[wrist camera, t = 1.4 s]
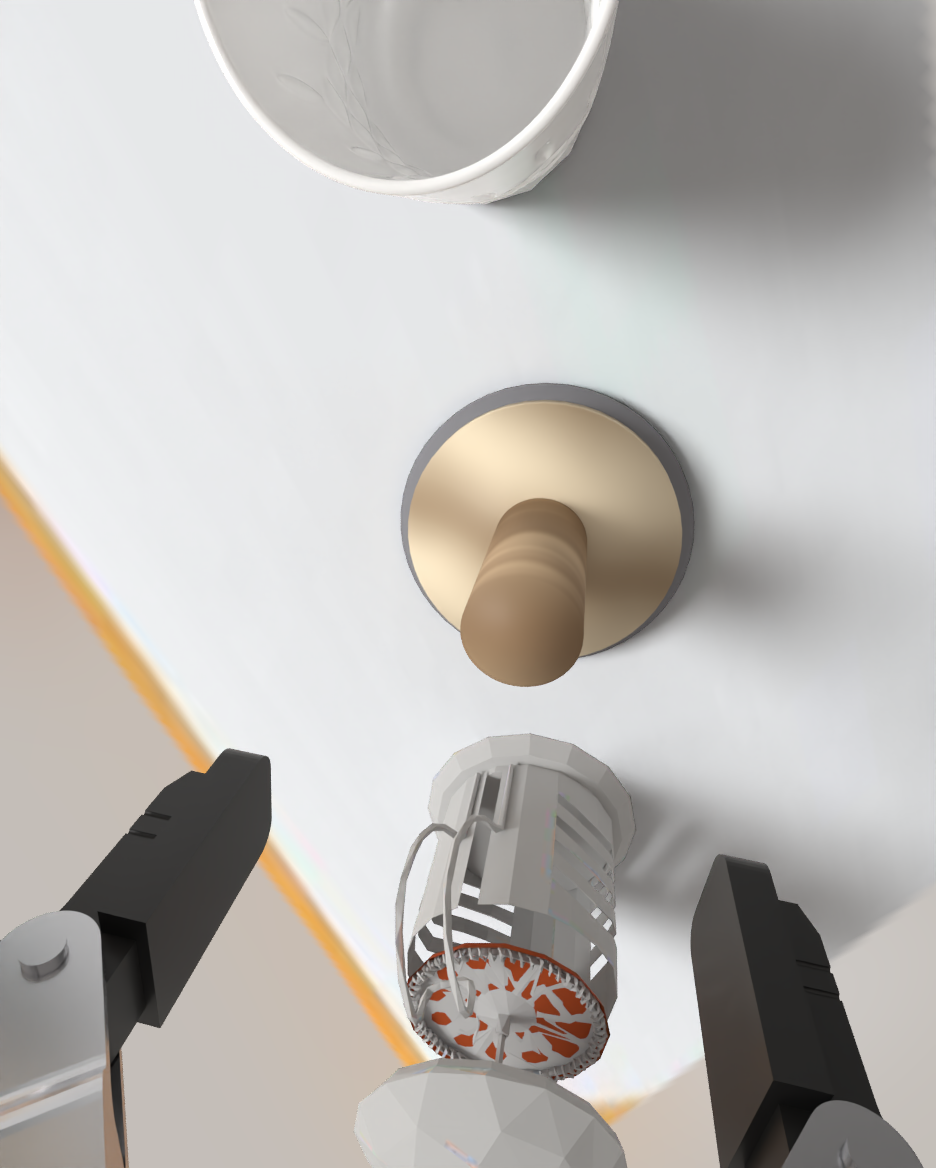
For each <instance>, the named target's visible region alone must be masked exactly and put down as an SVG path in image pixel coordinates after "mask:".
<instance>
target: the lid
mask: <svg viewBox="0 0 936 1168" xmlns="http://www.w3.org/2000/svg"><path fill="white" fill-rule="evenodd" d="M408 540H409V547H410V554H411V558H412V562H413V565H414V569H415V571H416V574H417V576H418V579H419V581H420V583H421V585H422V587H423V589H424V590H425V592H426V594H427V596H428V597H429V599H430V600H431V601H432V603H433V604H434V605H435V607H436V608H437V610H438V611H439V612H440V613H441V614H442V615H443V616H444V617H445V618H446V619H447V620H448V621H449V622H450V623H451V624H452V625H454V626H455V627H456V628H457V629H458V630H460V633H461V639H462V644H463V646H464V649H465V651H466V653H467V655H468V657H469V658H470V659H471V661H472V662H473V663H474V664H475V665H476V666H477V668H478V669H480V670H481V671H482V672H483V673H485V674H486V675H488V676H489V677H491V678H493V679H495V680H497V681H499V682H502V683H505V684H508V685H513V686H520V687H530V686H538V685H543V684H546V683H549V682H552V681H554V680H556V679H558V678H559V677H561V676H562V675H564V674H565V673H566V672H567V671H568V670H569V669H570V668H571V667H572V666H573V665H574V663H575V662H576V660H577V659H578V657H579V656H584V655H588V654H591V653H594V652H597V651H600V650H602V649H604V648H607V647H609V646H611V645H613V644H615V643H617V642H619V641H620V640H622V639H623V638H625V637H626V636H628V635H629V634H631V633H632V632H633V631H635V630H636V629H637V628H638V627H639V626H641V625H642V624H643V623H644V622H645V621H646V620H647V619H648V618H649V617H650V616H651V614H652V613H653V612H654V611H655V610H656V609H657V607H658V606H659V604H660V603H661V601H662V600H663V599H664V597H665V595H666V593H667V592H668V590H669V588H670V586H671V584H672V582H673V579H674V576H675V573H676V570H677V567H678V564H679V559H680V554H681V547H682V524H681V514H680V510H679V506H678V502H677V498H676V495H675V492H674V489H673V487H672V484H671V482H670V479H669V477H668V474H667V472H666V471H665V469H664V467H663V466H662V464H661V462H660V461H659V459H658V457H657V456H656V455H655V454H654V452H653V451H652V450H651V449H650V447H649V446H648V445H647V444H646V443H645V442H644V441H643V440H642V439H641V438H640V437H639V436H638V435H637V434H636V433H635V432H634V431H632V430H631V429H629V428H628V427H627V426H625V425H624V424H622V423H621V422H620V421H618V420H616V419H614V418H613V417H611V416H609V415H607V414H605V413H603V412H601V411H598V410H595V409H593V408H590V407H587V406H584V405H580V404H576V403H571V402H566V401H556V400H531V401H523V402H518V403H513V404H508V405H505V406H502V407H499V408H496V409H493V410H490V411H488V412H486V413H484V414H482V415H480V416H478V417H476V418H474V419H473V420H471V421H470V422H468V423H467V424H465V425H464V426H463V427H461V428H460V429H459V430H457V431H456V432H455V433H454V434H453V435H452V436H451V437H450V438H449V439H447V441H446V442H445V443H444V444H443V445H442V446H441V447H440V449H439V450H438V451H437V452H436V453H435V455H434V456H433V457H432V458H431V460H430V461H429V463H428V464H427V466H426V468H425V469H424V471H423V472H422V474H421V477H420V479H419V481H418V483H417V486H416V488H415V491H414V494H413V498H412V501H411V505H410V512H409V519H408Z"/></svg>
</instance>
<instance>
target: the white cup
mask: <svg viewBox="0 0 936 1168" xmlns="http://www.w3.org/2000/svg"><path fill="white" fill-rule="evenodd" d="M194 2H195V6H196V9H197V12H198V15H199V18H200V21H201V24H202V27H203V29H204V32H205V35H206V37H207V39H208V42H209V44H210V47H211V49H212V51H213V53H214V55H215V57H216V60H217V62H218V64H219V66H220V67H221V69H222V71H223V73H224V75H225V77H226V78H227V80H228V82H229V84H230V85H231V87H232V88H233V90H234V92H235V93H236V95H237V96H238V98H239V99H240V101H241V102H242V103H243V105H244V106H245V108H246V109H247V110H248V112H249V113H250V114H251V115H252V117H253V118H254V119H255V120H256V121H257V123H258V124H259V125H260V126H261V127H262V128H263V129H264V130H265V131H266V133H267V134H268V135H269V136H270V137H271V138H272V139H273V140H275V141H276V142H277V143H278V144H279V145H280V146H281V147H282V148H283V149H285V150H286V151H287V152H288V153H289V154H291V155H292V156H293V157H295V158H296V159H297V160H299V161H300V162H302V163H303V164H304V165H306V166H308V167H309V168H311V169H312V170H314V171H316V172H318V173H319V174H321V175H323V176H325V177H327V178H329V179H331V180H334V181H336V182H338V183H341V184H343V185H346V186H349V187H352V188H355V189H359V190H363V191H367V192H372V193H377V194H384V195H391V196H397V197H403V198H409V199H414V200H419V201H423V202H430V203H443V204H466V205H467V204H477V203H479V204H488V203H491V202H494V201H498V200H501V199H504V198H508V197H511V196H514V195H517V194H521V193H524V192H527V191H530V190H532V189H533V188H534V187H535V186H536V185H537V184H538V183H539V182H540V181H541V180H542V179H543V178H545V177H546V176H547V175H548V174H549V173H550V172H551V171H552V170H553V169H554V168H555V167H556V166H557V165H558V164H559V163H560V162H561V161H562V160H564V159H565V158H566V157H567V156H568V155H569V154H570V153H571V150H572V148H573V146H574V144H575V141H576V139H577V137H578V135H579V132H580V130H581V128H582V126H583V124H584V122H585V120H586V118H587V116H588V114H589V112H590V110H591V107H592V105H593V102H594V99H595V97H596V94H597V91H598V87H599V84H600V81H601V78H602V74H603V71H604V68H605V64H606V60H607V57H608V53H609V48H610V44H611V39H612V35H613V30H614V24H615V19H616V14H617V9H618V4H619V0H194Z"/></svg>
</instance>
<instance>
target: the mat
mask: <svg viewBox="0 0 936 1168" xmlns="http://www.w3.org/2000/svg"><path fill="white" fill-rule="evenodd" d="M531 400H556V401H566V402H571V403H576V404H580V405H584V406H587V407H590V408H593V409H595V410H598V411H601V412H603V413H605V414H607V415H609V416H611V417H613V418H614V419H616V420H618V421H620V422H621V423H622V424H624V425H625V426H627V427H628V428H629V429H631V430H632V431H634V432H635V433H636V434H637V435H638V436H639V437H640V438H641V439H642V440H643V441H644V442H645V443H646V444H647V445H648V446H649V447H650V449H651V450H652V451H653V452H654V454H655V455H656V456H657V457H658V459H659V461H660V462H661V464H662V466H663V467H664V469H665V471H666V472H667V474H668V477H669V479H670V482H671V484H672V487H673V489H674V492H675V495H676V498H677V502H678V506H679V510H680V514H681V524H682V547H681V554H680V559H679V564H678V567H677V570H676V573H675V576H674V579H673V582H672V584H671V586H670V588H669V590H668V592H667V593H666V595H665V597H664V599H663V600H662V601H661V603H660V604H659V606H658V607H657V609H656V610H655V611H654V612H653V613H652V614H651V616H650V617H649V618H648V619H647V620H646V621H645V622H644V623H643V624H642V625H641V626H639V627H638V628H637V629H636V630H635V631H633V632H632V633H631V634H629V635H628V636H626V637H625V638H623V639H622V640H620V641H619V642H617V643H615V644H613V645H611V646H609V647H607V648H604V649H602V650H600V651H597V652H594V653H591V654H588V655H584V656H579V657H578V658H580V657H585V656H589V655H593V654H596V653H599V652H602V651H605V650H608V649H610V648H612V647H614V646H616V645H618V644H620V643H622V642H624V641H626V640H627V639H629V638H630V637H632V636H633V635H635V634H637V633H638V632H640V631H641V630H642V629H643V628H644V627H646V626H647V625H648V624H649V623H650V622H652V621H653V620H654V619H655V617H656V616H657V615H658V614H659V613H660V612H661V611H662V610H663V609H664V608H665V606H666V605H667V604H668V602H669V601H670V599H671V598H672V596H673V595H674V594H675V592H676V590H677V588H678V586H679V584H680V582H681V580H682V579H683V577H684V574H685V571H686V568H687V565H688V563H689V560H690V555H691V550H692V545H693V536H694V514H693V504H692V499H691V495H690V491H689V487H688V484H687V481H686V479H685V476H684V474H683V471H682V469H681V466H680V464H679V462H678V461H677V459H676V457H675V455H674V454H673V452H672V450H671V448H670V447H669V446H668V444H667V443H666V442H665V440H664V439H663V438H662V437H661V435H660V434H659V433H658V432H657V431H656V430H655V429H654V428H653V427H652V426H651V425H650V424H649V423H648V422H647V421H646V420H645V419H644V418H643V417H641V416H640V415H639V414H637V413H636V412H634V411H633V410H631V409H630V408H629V407H627V406H626V405H624V404H622V403H620V402H618V401H616V400H614V399H612V398H611V397H609V396H606V395H604V394H601V393H598V392H595V391H592V390H590V389H586V388H581V387H577V386H572V385H566V384H553V383H540V384H526V385H520V386H515V387H510V388H506V389H503V390H500V391H497V392H494V393H491V394H488V395H486V396H484V397H482V398H480V399H478V400H476V401H474V402H472V403H470V404H469V405H467V406H466V407H464V408H463V409H461V410H460V411H458V412H457V413H455V414H454V415H453V416H452V417H451V418H450V419H448V420H447V421H446V422H445V423H444V424H443V425H442V426H441V427H440V428H439V429H438V430H437V431H436V432H435V433H434V434H433V436H432V437H431V438H430V439H429V440H428V442H427V443H426V444H425V446H424V447H423V449H422V450H421V452H420V454H419V455H418V457H417V459H416V460H415V462H414V465H413V467H412V469H411V472H410V474H409V476H408V479H407V483H406V486H405V490H404V493H403V500H402V507H401V534H402V542H403V548H404V551H405V555H406V559H407V563H408V565H409V568H410V570H411V572H412V575H413V577H414V579H415V581H416V583H417V585H418V586H419V588H420V590H421V592H422V593H423V595H424V596H425V598H426V599H427V600H428V602H429V603H430V604H431V606H432V607H433V608H434V609H435V610H436V611H437V612H438V613H439V614H440V615H441V616H442V618H443V619H444V620H446V621H447V622H448V623H449V624H450V625H452V624H451V623H450V622H449V621H448V620H447V619H446V618H445V617H444V616H443V615H442V614H441V613H440V612H439V611H438V610H437V608H436V607H435V605H434V604H433V603H432V601H431V600H430V599H429V597H428V596H427V594H426V592H425V590H424V589H423V587H422V585H421V583H420V581H419V579H418V576H417V574H416V571H415V569H414V565H413V562H412V558H411V554H410V547H409V540H408V519H409V512H410V505H411V501H412V498H413V494H414V491H415V488H416V486H417V483H418V481H419V479H420V477H421V474H422V472H423V471H424V469H425V468H426V466H427V464H428V463H429V461H430V460H431V458H432V457H433V456H434V455H435V453H436V452H437V451H438V450H439V449H440V447H441V446H442V445H443V444H444V443H445V442H446V441H447V439H449V438H450V437H451V436H452V435H453V434H454V433H455V432H456V431H457V430H459V429H460V428H461V427H463V426H464V425H465V424H467V423H468V422H470V421H471V420H473V419H474V418H476V417H478V416H480V415H482V414H484V413H486V412H488V411H490V410H493V409H496V408H499V407H502V406H505V405H508V404H513V403H518V402H523V401H531ZM452 626H453V627H454V628H455V629H456V630H458V629H457V628H456V627H455V626H454V625H452ZM458 631H459V632H460V630H458Z"/></svg>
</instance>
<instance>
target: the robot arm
mask: <svg viewBox="0 0 936 1168" xmlns="http://www.w3.org/2000/svg"><path fill="white" fill-rule="evenodd" d="M271 818H272V814H271V764H270V760H269V758H268V757H267V756H263V755H258V754H253V753H249V752H244V751H239V750H235V749H230V748H229V749H226V750H224V751H223V752H222V753H221V754H220V756H219V757H218V758H217V759H216V761H215V762H214V763H213V765H212V766H211V767H210V768H209V770H208V771H207V772H206V773H205V774H204V773H200V772H195V771H190V772H189V773H187V774H185V775H184V776H182V777H181V778H179V779H178V780H176V781H174V782H173V783H171V784H170V785H168V786H166V787H165V788H164V789H163V790H162V791H161V792H160V793H159V795H158V796H157V797H156V798H155V799H154V801H153V802H152V803H151V804H150V805H149V807H148V808H147V809H146V810H145V814H144V815H141V816H140V817H139V818H138V820H137V821H136V822H135V823H134V825H133V826H132V827H131V828H130V831H129V833H128V834H125V835H124V836H123V838H122V839H121V840H120V841H119V842H118V843H117V844H116V846H115V847H114V848H113V849H112V850H111V852H110V853H109V854H108V855H107V856H106V857H105V859H104V860H103V861H102V862H101V863H100V865H99V866H98V867H97V868H96V869H95V870H94V872H93V873H92V874H91V875H90V877H89V878H88V879H87V880H86V881H85V882H84V884H83V885H82V886H81V887H80V888H79V889H78V891H77V892H76V893H75V894H74V896H73V897H72V898H71V899H70V900H69V901H68V902H67V903H66V905H65V906H64V907H63V908H62V909H61V910H60V911H56V912H51V913H47V914H43V915H40V916H37V917H35V918H33V919H31V920H28V921H26V922H25V923H23V924H21V925H20V926H18V927H16V928H15V929H14V930H13V931H11V932H10V933H8V934H7V935H6V936H5V937H4V938H3V939H2V940H0V1168H129V1163H128V1147H127V1129H126V1113H125V1097H124V1081H123V1066H122V1065H123V1064H122V1051H121V1047H122V1045H123V1044H124V1042H125V1040H126V1039H127V1037H128V1036H129V1034H130V1032H131V1031H132V1029H133V1027H134V1026H135V1024H136V1023H137V1022H139V1023H143V1024H147V1025H151V1026H154V1027H158V1028H161V1026H162V1024H163V1022H164V1021H165V1019H166V1017H167V1016H168V1014H169V1012H170V1010H171V1008H172V1007H173V1005H174V1004H175V1002H176V1000H177V998H178V997H179V995H180V993H181V992H182V990H183V988H184V986H185V984H186V983H187V981H188V979H189V978H190V976H191V974H192V972H193V971H194V969H195V967H196V966H197V964H198V962H199V961H200V959H201V957H202V955H203V953H204V952H205V950H206V948H207V947H208V945H209V943H210V942H211V940H212V938H213V936H214V935H215V933H216V931H217V930H218V928H219V926H220V924H221V923H222V921H223V919H224V917H225V916H226V914H227V912H228V910H229V909H230V907H231V905H232V904H233V902H234V900H235V899H236V897H237V895H238V893H239V892H240V890H241V888H242V886H243V885H244V883H245V881H246V880H247V878H248V876H249V874H250V873H251V871H252V869H253V868H254V866H255V864H256V862H257V861H258V859H259V857H260V855H261V854H262V852H263V849H264V847H265V845H266V842H267V839H268V836H269V832H270V827H271ZM691 957H692V964H693V972H694V979H695V986H696V994H697V1001H698V1008H699V1016H700V1023H701V1030H702V1038H703V1045H704V1052H705V1060H706V1067H707V1074H708V1081H709V1089H710V1096H711V1103H712V1110H713V1118H714V1125H715V1133H716V1140H717V1148H718V1155H719V1162H720V1168H923V1166H922V1164H921V1163H920V1161H919V1159H918V1157H917V1156H916V1154H915V1152H914V1151H913V1150H912V1148H911V1147H910V1146H909V1144H908V1143H907V1142H906V1141H905V1140H904V1138H903V1137H902V1136H901V1135H900V1134H899V1133H898V1132H897V1131H896V1130H895V1129H894V1128H893V1127H892V1126H891V1125H890V1124H889V1123H887V1122H886V1121H885V1120H883V1118H882V1116H881V1114H880V1112H879V1109H878V1107H877V1104H876V1101H875V1098H874V1095H873V1092H872V1089H871V1086H870V1083H869V1080H868V1077H867V1074H866V1072H865V1069H864V1065H863V1062H862V1060H861V1057H860V1054H859V1051H858V1048H857V1045H856V1042H855V1039H854V1036H853V1033H852V1030H851V1027H850V1024H849V1021H848V1018H847V1015H846V1012H845V1009H844V1006H843V1003H842V1001H840V1000H839V991H838V988H837V985H836V982H835V979H834V976H833V974H832V973H830V964H829V961H828V958H827V955H826V952H825V949H824V946H823V943H822V940H821V937H820V934H819V933H818V932H817V930H816V929H815V928H814V926H813V925H812V924H811V922H810V921H809V919H808V918H807V917H806V915H805V914H804V913H803V911H802V910H801V909H800V907H799V906H798V904H794V903H790V902H785V901H780V900H778V897H777V894H776V890H775V887H774V883H773V880H772V876H771V873H770V870H769V868H768V866H767V865H766V864H764V863H760V862H755V861H750V860H746V859H741V858H736V857H731V856H727V855H722V854H719V855H718V856H717V857H716V858H715V860H714V862H713V865H712V868H711V870H710V873H709V876H708V879H707V881H706V884H705V887H704V889H703V892H702V895H701V898H700V900H699V903H698V906H697V908H696V911H695V914H694V918H693V922H692V929H691Z"/></svg>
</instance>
